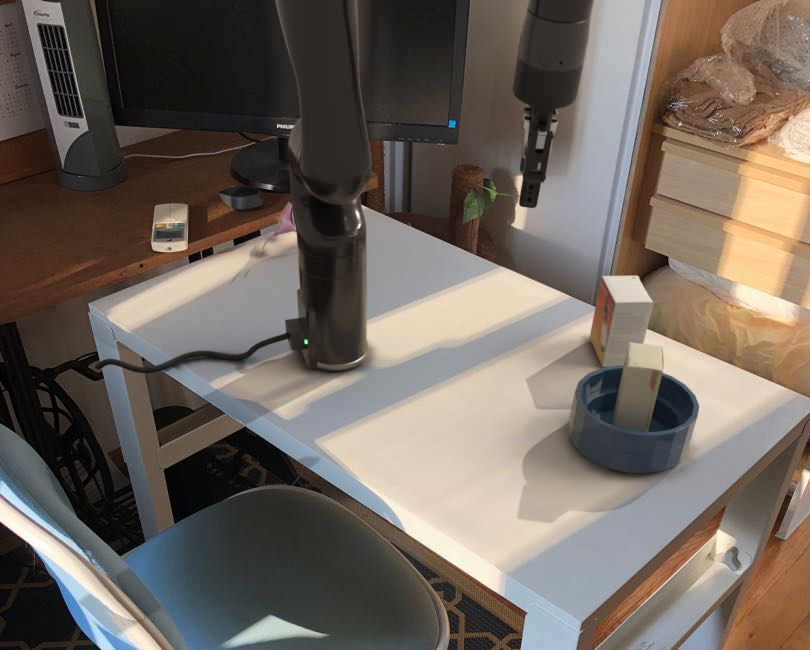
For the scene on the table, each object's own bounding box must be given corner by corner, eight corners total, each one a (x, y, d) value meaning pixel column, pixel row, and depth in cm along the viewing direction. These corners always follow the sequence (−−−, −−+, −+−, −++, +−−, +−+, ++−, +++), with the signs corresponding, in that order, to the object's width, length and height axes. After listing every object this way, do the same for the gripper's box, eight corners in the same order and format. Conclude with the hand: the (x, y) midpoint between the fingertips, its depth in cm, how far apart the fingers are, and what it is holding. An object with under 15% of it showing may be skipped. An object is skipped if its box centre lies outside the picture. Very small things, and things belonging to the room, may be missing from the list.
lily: (298, 232, 165) (268, 186, 159) (344, 224, 157) (314, 176, 151) (263, 276, 160) (230, 231, 154) (308, 270, 152) (275, 223, 146)
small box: (588, 339, 138) (600, 274, 131) (624, 338, 139) (638, 274, 131) (601, 368, 132) (614, 302, 125) (638, 367, 133) (654, 301, 126)
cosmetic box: (643, 453, 117) (664, 372, 108) (609, 449, 117) (627, 367, 109) (644, 424, 121) (664, 344, 113) (611, 420, 122) (628, 340, 114)
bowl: (599, 486, 113) (609, 443, 108) (549, 415, 123) (556, 374, 119) (709, 465, 116) (722, 424, 112) (651, 398, 127) (661, 358, 123)
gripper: (586, 84, 98) (557, 221, 111) (582, 32, 107) (556, 164, 120) (517, 77, 98) (496, 215, 111) (519, 25, 108) (499, 158, 120)
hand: (527, 188), depth 115 cm, fingers open, 8 cm apart
